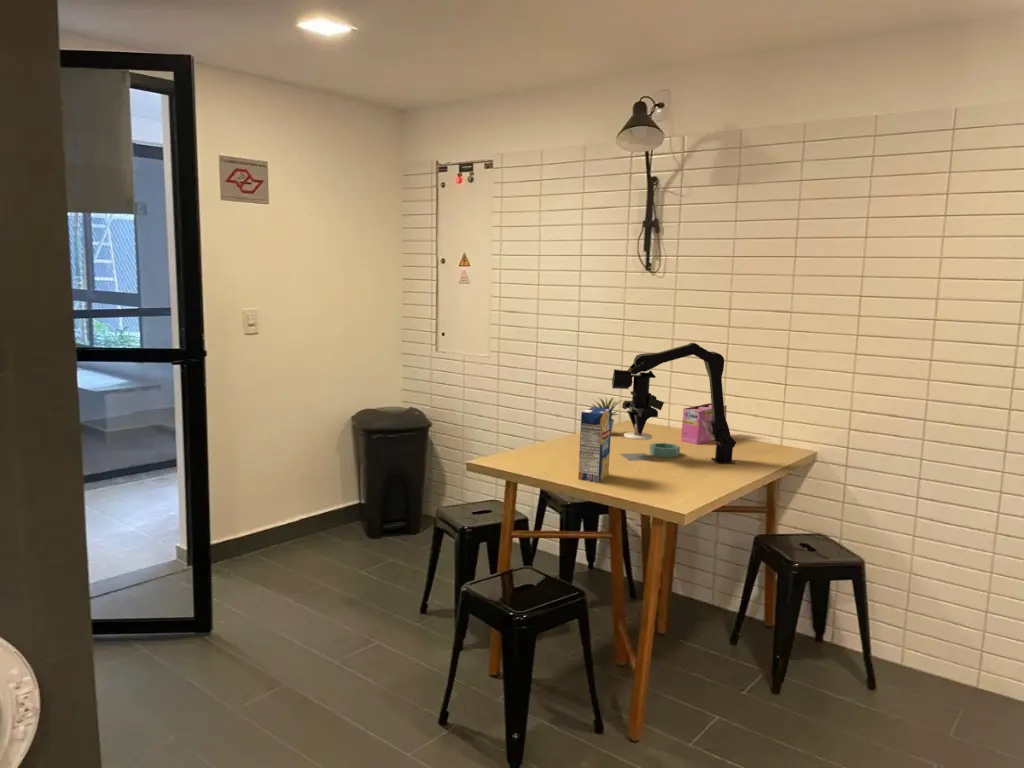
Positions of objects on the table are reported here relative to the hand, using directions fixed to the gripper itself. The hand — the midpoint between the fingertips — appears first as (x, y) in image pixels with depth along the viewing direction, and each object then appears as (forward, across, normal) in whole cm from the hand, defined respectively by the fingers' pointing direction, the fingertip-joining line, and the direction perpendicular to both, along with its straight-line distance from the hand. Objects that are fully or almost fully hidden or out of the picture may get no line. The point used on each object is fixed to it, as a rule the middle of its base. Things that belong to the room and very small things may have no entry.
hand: (638, 432), depth 275 cm
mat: (+10, 0, 0) cm, 10 cm away
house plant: (+10, +41, -4) cm, 42 cm away
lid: (+2, 0, 0) cm, 2 cm away
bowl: (+10, +3, -12) cm, 16 cm away
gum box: (+10, +28, -42) cm, 51 cm away
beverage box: (+10, -23, +25) cm, 35 cm away
